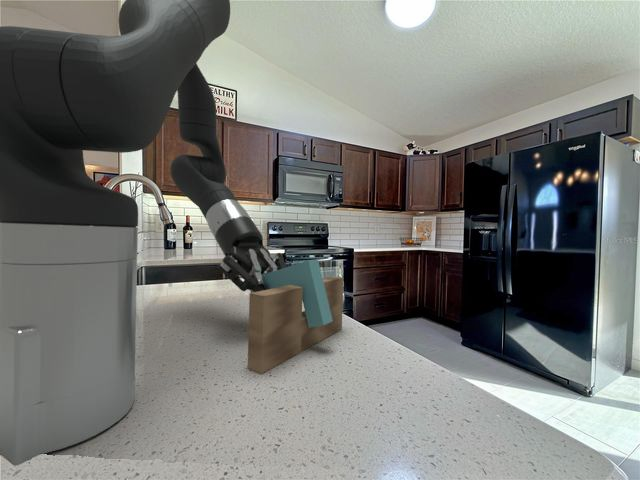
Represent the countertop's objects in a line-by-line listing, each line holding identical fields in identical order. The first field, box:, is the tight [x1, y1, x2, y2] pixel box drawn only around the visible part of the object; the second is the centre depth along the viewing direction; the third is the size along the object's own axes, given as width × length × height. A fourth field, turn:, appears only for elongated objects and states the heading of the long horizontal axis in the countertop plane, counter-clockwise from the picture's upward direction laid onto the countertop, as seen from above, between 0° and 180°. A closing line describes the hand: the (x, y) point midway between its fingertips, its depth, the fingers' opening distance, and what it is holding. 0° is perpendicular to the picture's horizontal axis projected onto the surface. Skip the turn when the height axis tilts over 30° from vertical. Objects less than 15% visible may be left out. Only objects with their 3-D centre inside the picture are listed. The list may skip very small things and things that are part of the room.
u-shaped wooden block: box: [247, 275, 344, 375], centre depth 42 cm, size 20×2×10 cm, turn 146°
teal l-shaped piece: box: [249, 258, 333, 328], centre depth 44 cm, size 14×2×10 cm, turn 57°
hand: (280, 304), depth 45 cm, fingers open, 3 cm apart
